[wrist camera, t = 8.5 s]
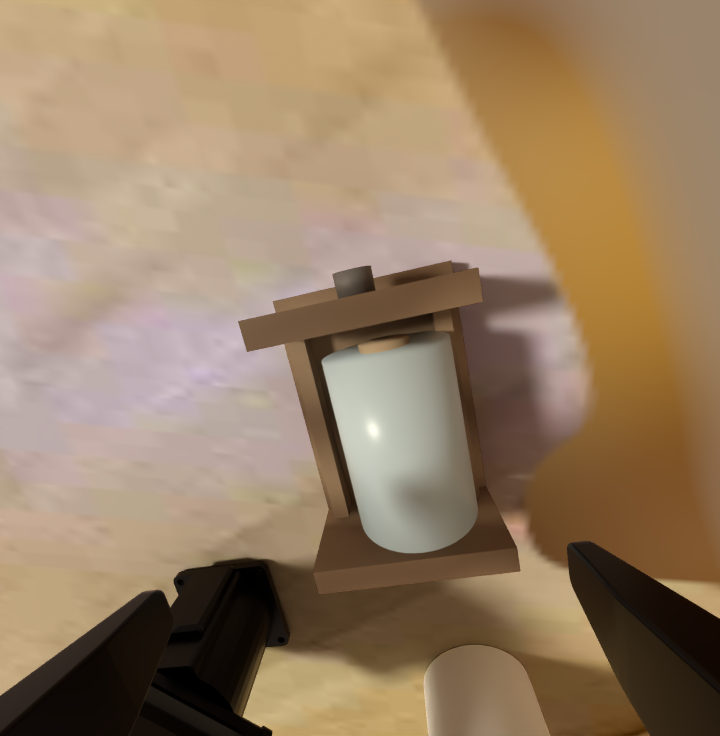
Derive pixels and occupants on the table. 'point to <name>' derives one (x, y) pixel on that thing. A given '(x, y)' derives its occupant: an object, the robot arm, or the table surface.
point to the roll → (404, 439)
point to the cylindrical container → (480, 695)
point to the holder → (305, 353)
